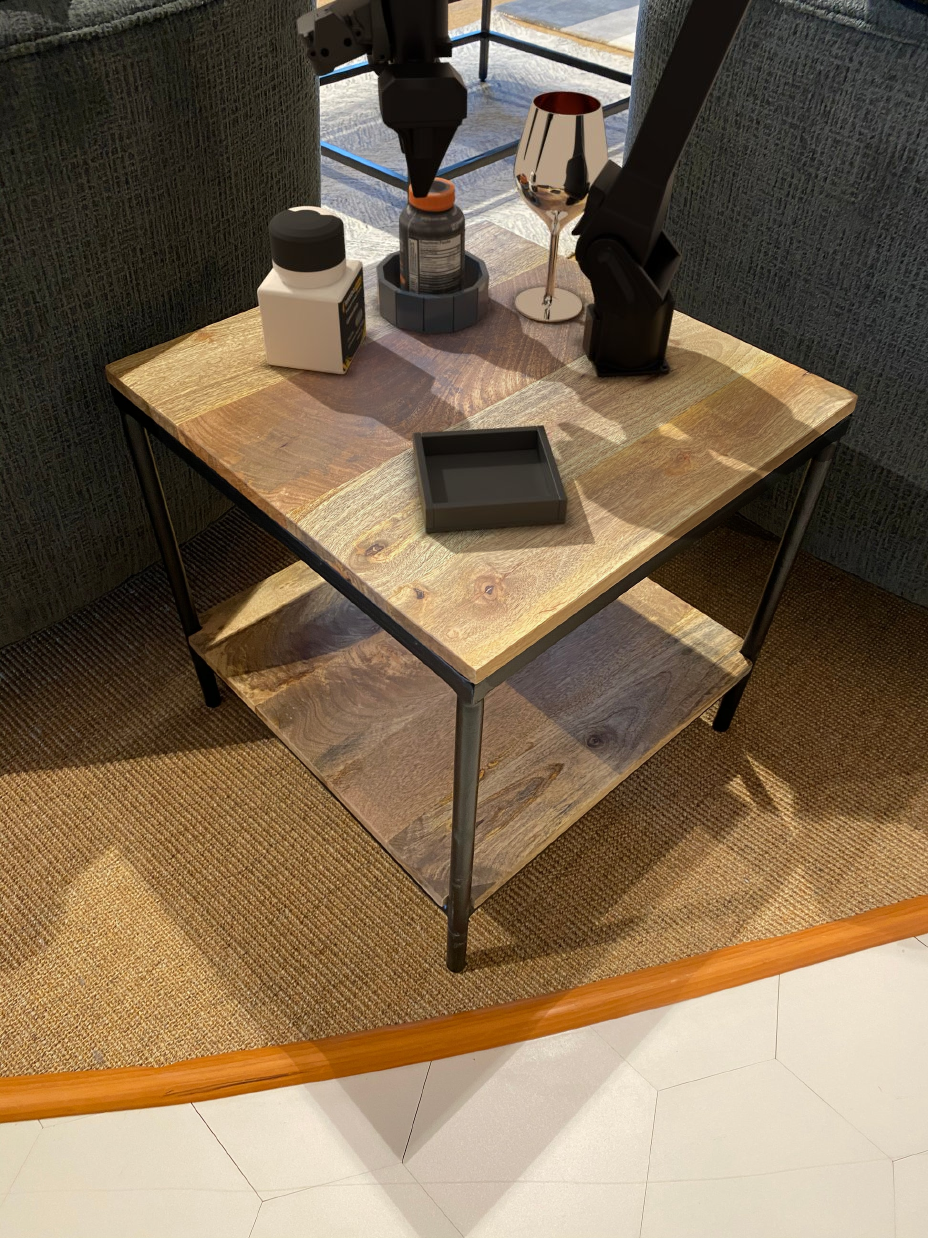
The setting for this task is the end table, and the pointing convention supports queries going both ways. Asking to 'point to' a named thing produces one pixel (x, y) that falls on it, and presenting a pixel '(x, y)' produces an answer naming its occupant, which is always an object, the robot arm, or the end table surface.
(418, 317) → the bowl
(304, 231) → the medicine bottle
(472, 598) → the end table surface
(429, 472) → the tray
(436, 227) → the pill bottle
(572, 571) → the end table surface
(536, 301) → the wineglass
